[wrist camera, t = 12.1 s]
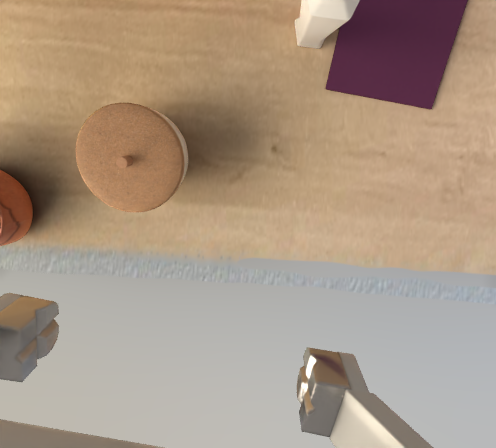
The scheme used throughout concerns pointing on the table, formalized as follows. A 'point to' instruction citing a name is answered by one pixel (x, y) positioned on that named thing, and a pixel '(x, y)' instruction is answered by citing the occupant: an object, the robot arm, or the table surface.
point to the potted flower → (13, 210)
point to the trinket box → (131, 156)
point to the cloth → (395, 49)
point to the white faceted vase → (321, 20)
